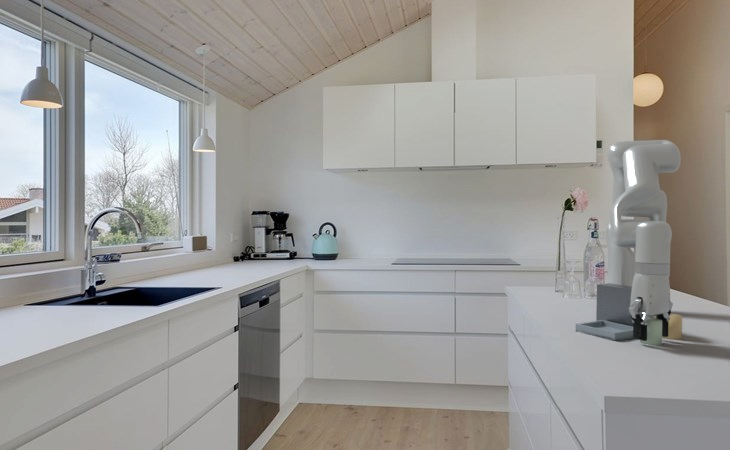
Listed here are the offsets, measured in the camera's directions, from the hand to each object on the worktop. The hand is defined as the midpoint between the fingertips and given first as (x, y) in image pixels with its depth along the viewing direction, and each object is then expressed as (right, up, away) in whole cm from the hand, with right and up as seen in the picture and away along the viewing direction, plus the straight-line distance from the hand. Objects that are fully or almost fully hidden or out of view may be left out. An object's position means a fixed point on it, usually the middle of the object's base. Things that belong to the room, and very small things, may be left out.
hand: (650, 337), depth 117 cm
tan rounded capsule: (+9, -2, +6) cm, 11 cm away
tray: (-6, -1, +9) cm, 11 cm away
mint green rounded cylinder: (0, -2, 0) cm, 2 cm away
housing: (+2, -1, +16) cm, 16 cm away
